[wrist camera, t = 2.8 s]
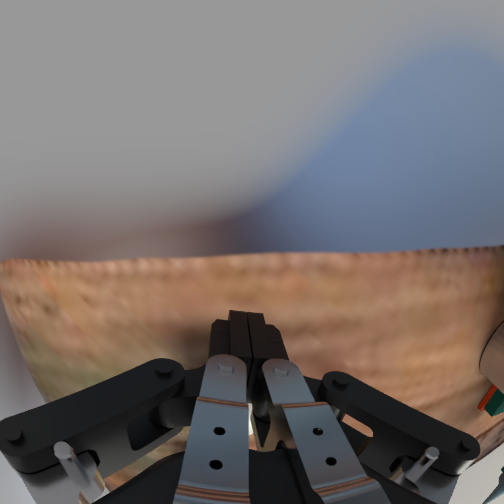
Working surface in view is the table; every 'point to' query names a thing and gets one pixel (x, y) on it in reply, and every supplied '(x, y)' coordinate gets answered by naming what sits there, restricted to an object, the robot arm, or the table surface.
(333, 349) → the table surface
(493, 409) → the power tool
